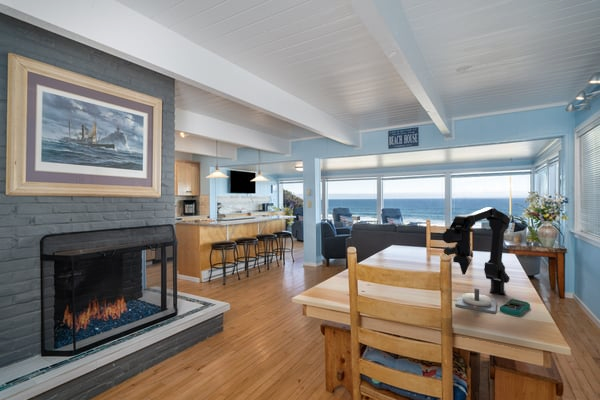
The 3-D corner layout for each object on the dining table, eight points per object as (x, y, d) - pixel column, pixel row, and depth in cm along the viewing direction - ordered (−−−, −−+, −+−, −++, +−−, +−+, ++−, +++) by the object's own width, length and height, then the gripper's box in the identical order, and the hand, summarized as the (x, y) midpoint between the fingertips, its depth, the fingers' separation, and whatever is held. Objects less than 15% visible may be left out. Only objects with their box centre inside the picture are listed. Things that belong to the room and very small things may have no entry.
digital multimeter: (498, 312, 124) (498, 305, 124) (510, 304, 133) (510, 297, 133) (519, 318, 118) (519, 311, 118) (530, 308, 128) (530, 302, 127)
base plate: (460, 296, 143) (460, 294, 143) (497, 302, 134) (497, 300, 134) (455, 306, 130) (455, 303, 130) (495, 314, 122) (495, 311, 122)
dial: (462, 303, 130) (462, 288, 130) (462, 295, 140) (462, 281, 140) (492, 307, 125) (491, 291, 125) (489, 299, 135) (489, 284, 134)
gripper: (448, 237, 151) (448, 268, 151) (440, 243, 136) (441, 276, 136) (473, 239, 144) (473, 271, 144) (468, 245, 129) (468, 280, 129)
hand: (463, 274), depth 139 cm, fingers closed
